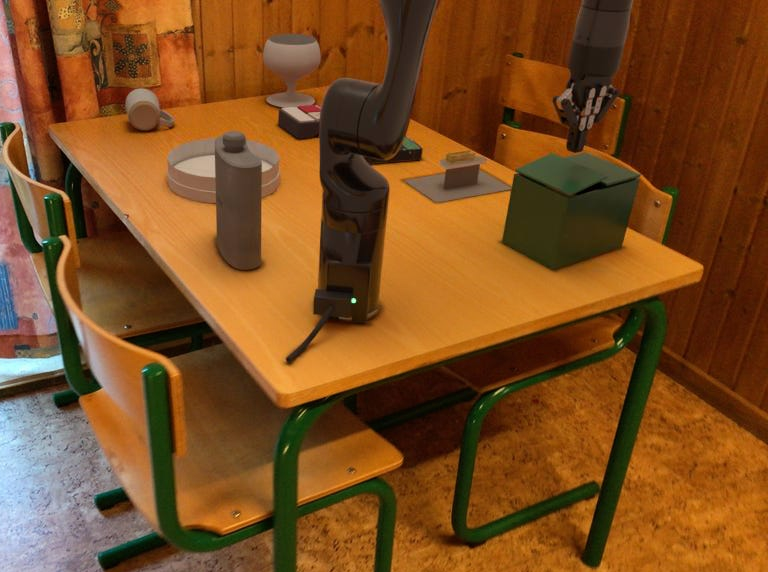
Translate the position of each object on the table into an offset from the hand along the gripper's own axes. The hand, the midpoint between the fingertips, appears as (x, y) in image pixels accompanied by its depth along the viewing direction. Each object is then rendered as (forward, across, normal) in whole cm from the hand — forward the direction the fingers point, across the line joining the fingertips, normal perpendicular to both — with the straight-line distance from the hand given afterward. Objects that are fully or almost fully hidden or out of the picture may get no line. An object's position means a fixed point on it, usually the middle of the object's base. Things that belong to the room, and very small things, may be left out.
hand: (574, 150), depth 136 cm
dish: (+17, -35, +54) cm, 66 cm away
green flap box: (+17, +2, 0) cm, 17 cm away
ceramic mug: (+17, -34, +90) cm, 98 cm away
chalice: (+18, +4, +91) cm, 93 cm away
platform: (+17, +4, +30) cm, 35 cm away
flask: (+17, -48, +26) cm, 57 cm away
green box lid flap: (+4, -2, 0) cm, 4 cm away
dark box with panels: (+17, -1, +71) cm, 73 cm away
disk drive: (+17, +1, +50) cm, 53 cm away
